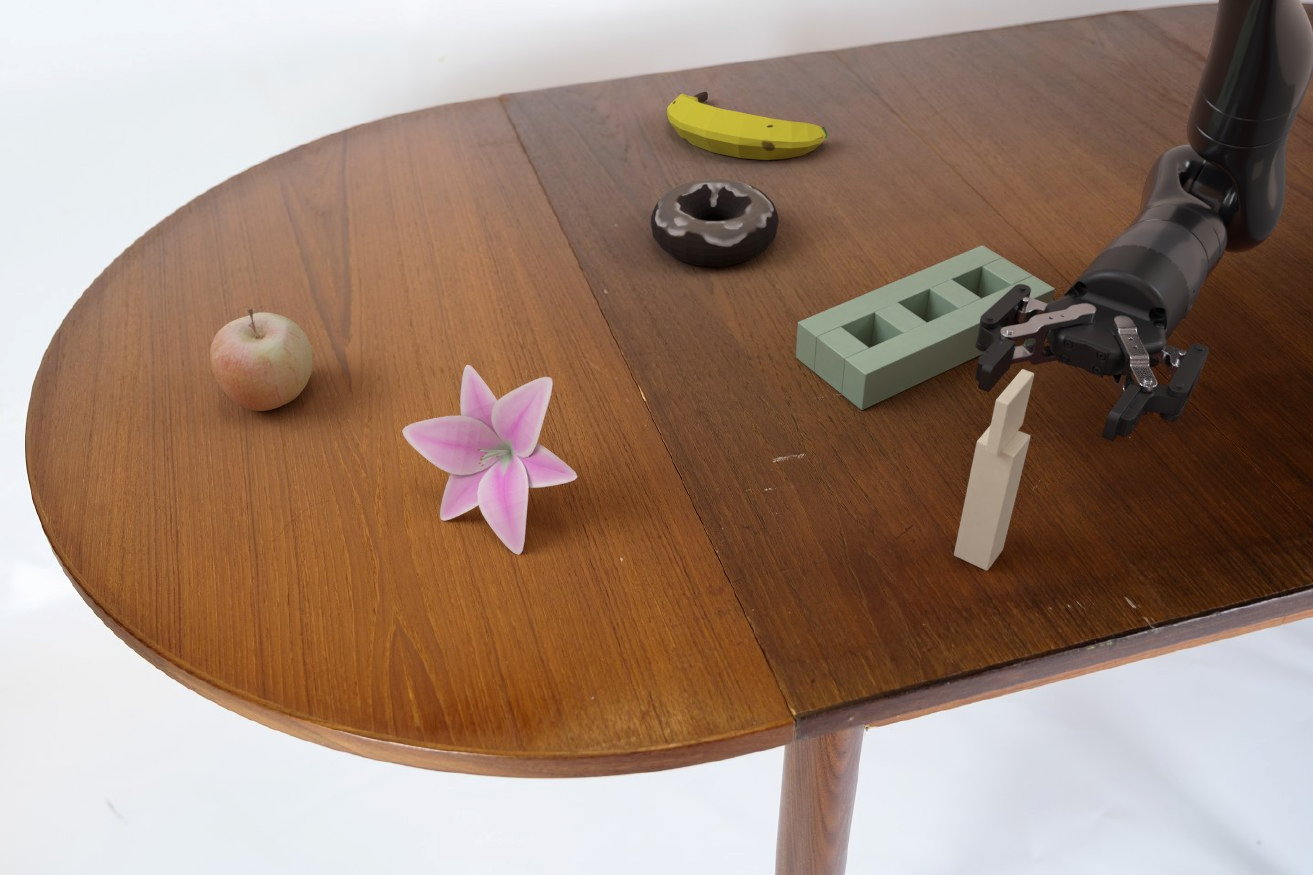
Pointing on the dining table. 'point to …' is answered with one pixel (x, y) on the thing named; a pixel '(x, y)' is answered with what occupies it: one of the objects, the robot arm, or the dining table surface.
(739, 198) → the donut
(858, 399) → the caddy
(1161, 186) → the robot arm
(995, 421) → the cream offset-tab post
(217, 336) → the fruit
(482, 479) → the lily
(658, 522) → the dining table surface
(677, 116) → the banana
